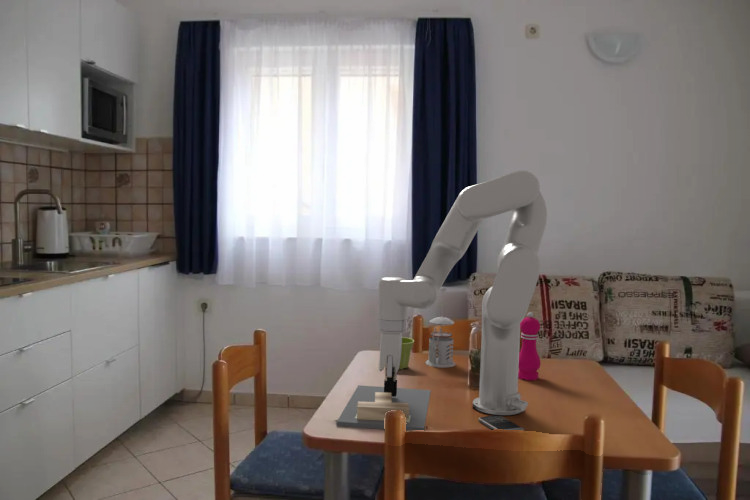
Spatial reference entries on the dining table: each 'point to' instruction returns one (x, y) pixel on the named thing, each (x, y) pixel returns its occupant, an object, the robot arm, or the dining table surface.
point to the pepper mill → (529, 349)
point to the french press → (440, 343)
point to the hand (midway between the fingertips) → (390, 395)
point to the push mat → (412, 396)
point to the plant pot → (405, 352)
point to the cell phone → (499, 423)
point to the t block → (380, 407)
